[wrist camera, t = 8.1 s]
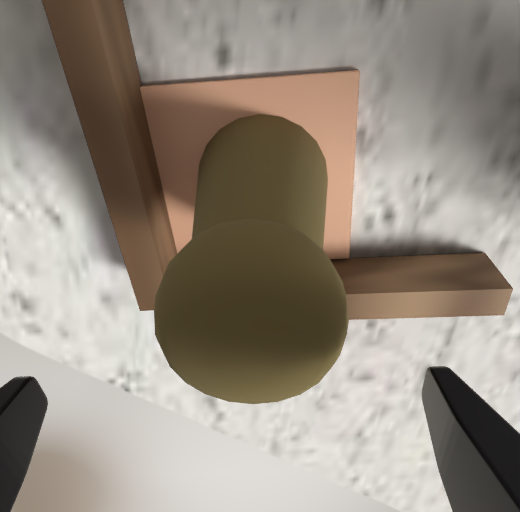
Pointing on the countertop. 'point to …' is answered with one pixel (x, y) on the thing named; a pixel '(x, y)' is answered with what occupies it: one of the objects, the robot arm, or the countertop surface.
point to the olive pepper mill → (255, 270)
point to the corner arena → (191, 150)
